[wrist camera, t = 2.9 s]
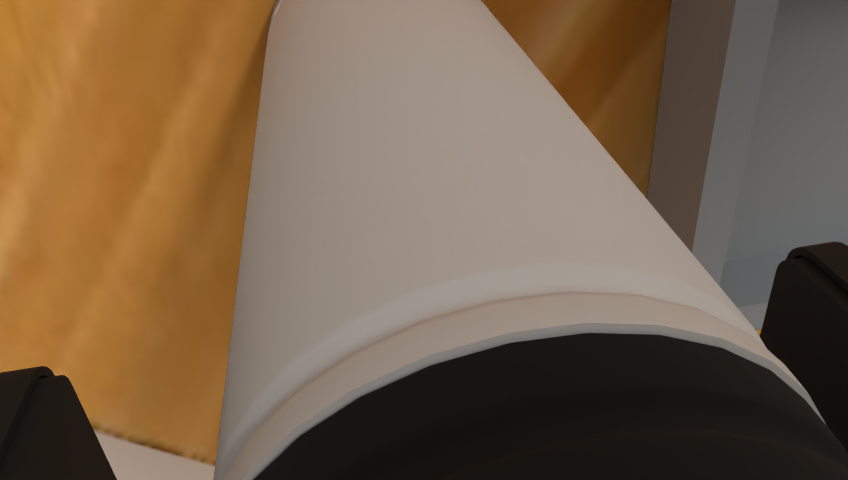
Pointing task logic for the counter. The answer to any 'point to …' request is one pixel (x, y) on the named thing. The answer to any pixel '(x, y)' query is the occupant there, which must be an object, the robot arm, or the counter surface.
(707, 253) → the grey compartment tray
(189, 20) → the counter surface
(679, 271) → the travel mug
